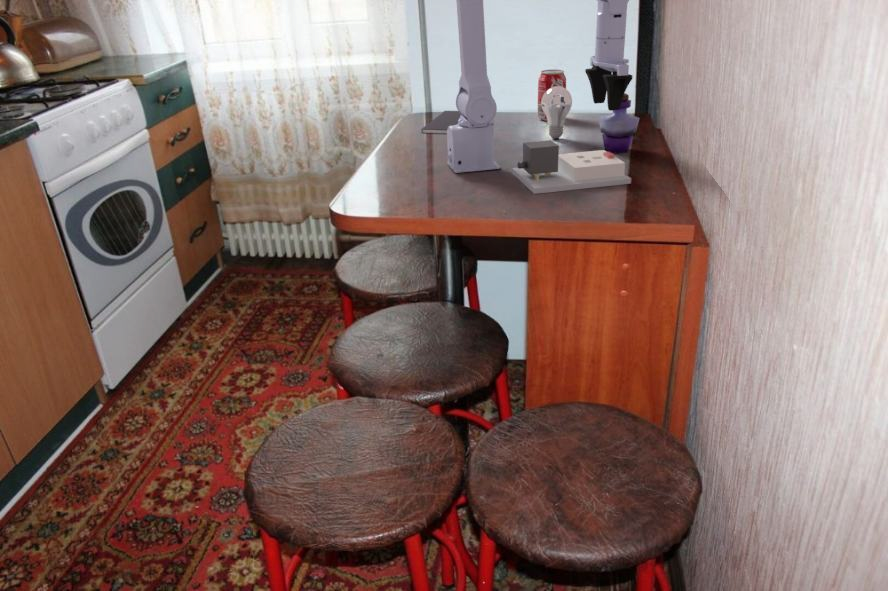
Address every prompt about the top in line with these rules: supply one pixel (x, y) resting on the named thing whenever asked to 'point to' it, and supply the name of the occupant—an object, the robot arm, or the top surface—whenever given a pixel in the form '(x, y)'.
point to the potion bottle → (619, 128)
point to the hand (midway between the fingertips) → (606, 106)
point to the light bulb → (556, 109)
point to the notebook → (442, 122)
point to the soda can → (548, 86)
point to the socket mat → (564, 181)
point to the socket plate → (590, 165)
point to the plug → (540, 158)
